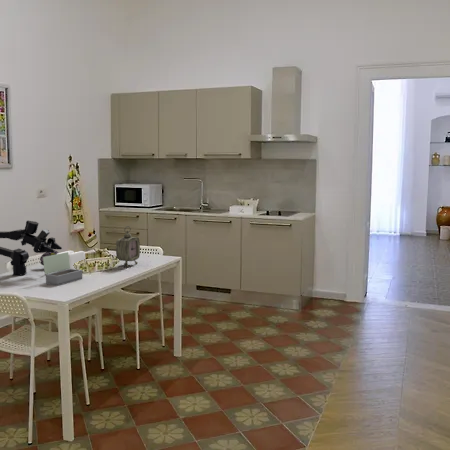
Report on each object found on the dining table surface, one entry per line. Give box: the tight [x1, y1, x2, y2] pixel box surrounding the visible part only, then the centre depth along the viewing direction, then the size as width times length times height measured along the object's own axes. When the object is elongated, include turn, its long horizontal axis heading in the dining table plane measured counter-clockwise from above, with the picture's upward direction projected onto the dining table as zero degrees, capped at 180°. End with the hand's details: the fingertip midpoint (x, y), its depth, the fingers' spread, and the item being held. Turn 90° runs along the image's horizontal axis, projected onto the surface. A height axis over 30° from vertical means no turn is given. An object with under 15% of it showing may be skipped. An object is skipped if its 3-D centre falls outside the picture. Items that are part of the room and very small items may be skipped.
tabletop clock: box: [115, 225, 141, 268], centre depth 338 cm, size 14×9×25 cm, turn 158°
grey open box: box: [45, 269, 83, 287], centre depth 296 cm, size 9×18×5 cm, turn 150°
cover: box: [43, 251, 70, 275], centre depth 297 cm, size 9×18×1 cm
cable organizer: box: [57, 250, 86, 271], centre depth 323 cm, size 15×11×12 cm
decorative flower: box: [39, 249, 60, 267], centre depth 333 cm, size 15×12×15 cm
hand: (57, 249), depth 308 cm, fingers open, 9 cm apart
